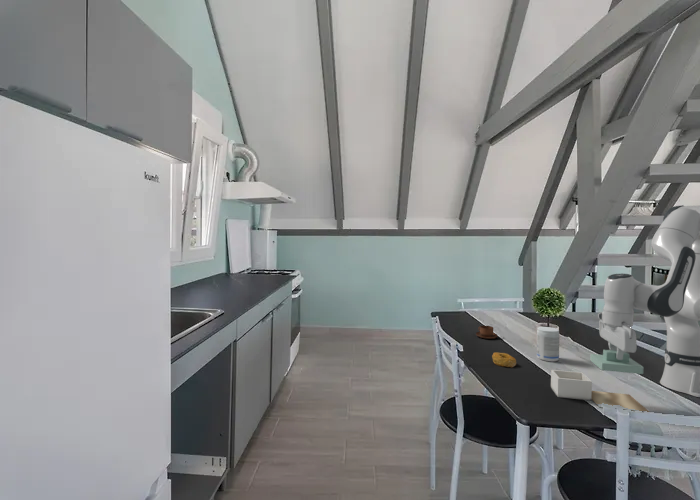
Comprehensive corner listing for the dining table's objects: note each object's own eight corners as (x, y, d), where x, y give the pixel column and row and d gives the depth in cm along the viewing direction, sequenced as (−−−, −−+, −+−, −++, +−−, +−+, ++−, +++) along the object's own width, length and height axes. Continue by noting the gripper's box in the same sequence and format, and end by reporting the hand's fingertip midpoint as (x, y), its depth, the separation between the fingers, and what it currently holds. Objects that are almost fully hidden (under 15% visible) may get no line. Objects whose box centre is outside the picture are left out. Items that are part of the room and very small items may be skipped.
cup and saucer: (472, 337, 213) (472, 327, 213) (480, 333, 222) (481, 323, 222) (492, 341, 205) (492, 330, 205) (500, 337, 214) (500, 327, 214)
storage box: (582, 390, 140) (582, 372, 140) (591, 400, 132) (591, 381, 131) (550, 387, 143) (551, 369, 143) (557, 396, 134) (558, 378, 134)
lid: (628, 363, 134) (628, 349, 134) (643, 374, 124) (644, 358, 124) (590, 360, 137) (590, 345, 137) (601, 370, 127) (602, 354, 127)
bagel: (505, 369, 162) (506, 359, 162) (487, 361, 172) (487, 351, 172) (521, 366, 166) (521, 356, 166) (502, 358, 176) (502, 349, 176)
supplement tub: (562, 359, 175) (563, 329, 174) (552, 363, 170) (553, 332, 169) (542, 354, 183) (543, 325, 183) (532, 357, 178) (533, 328, 177)
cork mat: (629, 395, 136) (629, 394, 136) (649, 413, 122) (649, 411, 122) (584, 390, 140) (584, 389, 140) (599, 407, 126) (599, 406, 126)
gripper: (643, 326, 119) (641, 368, 120) (615, 313, 139) (613, 349, 139) (621, 325, 121) (619, 366, 121) (596, 312, 140) (594, 347, 141)
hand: (616, 357), depth 130 cm, fingers closed on lid, 3 cm apart
